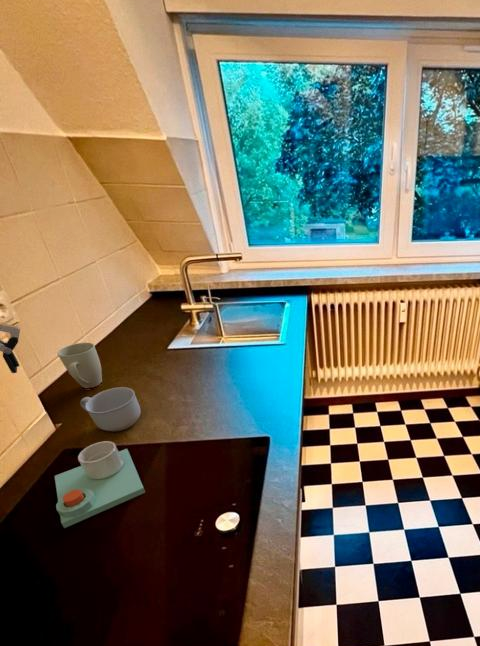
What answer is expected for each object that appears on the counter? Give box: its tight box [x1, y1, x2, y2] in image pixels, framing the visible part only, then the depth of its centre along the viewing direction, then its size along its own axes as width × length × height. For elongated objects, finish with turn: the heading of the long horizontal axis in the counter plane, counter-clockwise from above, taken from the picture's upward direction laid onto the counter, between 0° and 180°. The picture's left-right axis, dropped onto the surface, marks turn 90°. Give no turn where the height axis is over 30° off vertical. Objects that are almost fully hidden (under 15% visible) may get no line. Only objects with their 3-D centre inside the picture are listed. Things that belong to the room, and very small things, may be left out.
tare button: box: [63, 490, 84, 507], centre depth 73 cm, size 3×3×2 cm
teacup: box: [79, 386, 142, 432], centre depth 97 cm, size 14×11×8 cm
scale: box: [54, 448, 146, 529], centre depth 79 cm, size 14×16×3 cm
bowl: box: [77, 440, 123, 479], centre depth 81 cm, size 7×7×5 cm
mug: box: [56, 342, 103, 389], centre depth 112 cm, size 11×10×12 cm
